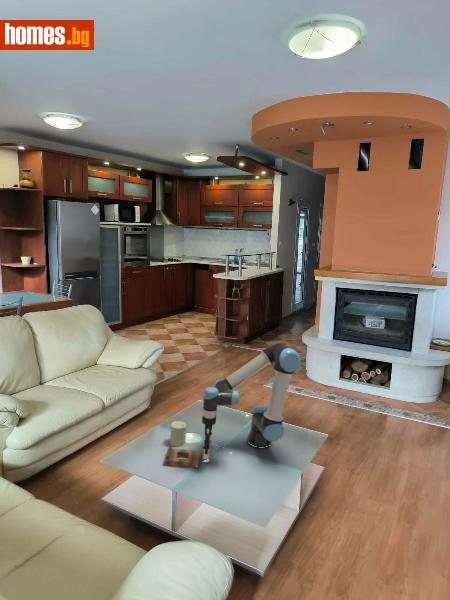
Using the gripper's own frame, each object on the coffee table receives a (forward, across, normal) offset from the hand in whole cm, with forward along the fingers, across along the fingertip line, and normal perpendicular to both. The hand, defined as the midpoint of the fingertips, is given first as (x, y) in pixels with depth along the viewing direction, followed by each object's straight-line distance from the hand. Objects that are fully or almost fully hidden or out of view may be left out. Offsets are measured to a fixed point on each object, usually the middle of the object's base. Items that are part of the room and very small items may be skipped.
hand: (206, 452), depth 226 cm
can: (+5, -16, -18) cm, 25 cm away
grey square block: (+5, 0, 0) cm, 5 cm away
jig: (+5, +2, -13) cm, 14 cm away
